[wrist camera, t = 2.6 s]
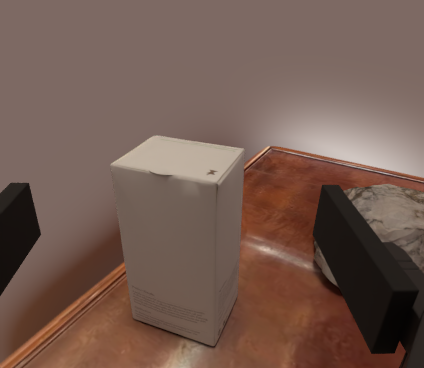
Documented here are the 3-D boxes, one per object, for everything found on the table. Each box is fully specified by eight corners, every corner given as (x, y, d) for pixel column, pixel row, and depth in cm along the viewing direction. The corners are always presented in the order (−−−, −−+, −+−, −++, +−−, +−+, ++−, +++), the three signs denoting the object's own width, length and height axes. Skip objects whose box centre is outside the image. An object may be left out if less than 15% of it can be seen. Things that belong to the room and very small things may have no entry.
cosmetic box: (238, 298, 34) (252, 147, 27) (213, 354, 29) (222, 184, 21) (161, 273, 37) (156, 130, 30) (125, 320, 31) (107, 159, 24)
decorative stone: (489, 239, 42) (519, 170, 36) (534, 349, 32) (585, 279, 26) (317, 226, 48) (317, 166, 42) (309, 314, 38) (308, 251, 32)
